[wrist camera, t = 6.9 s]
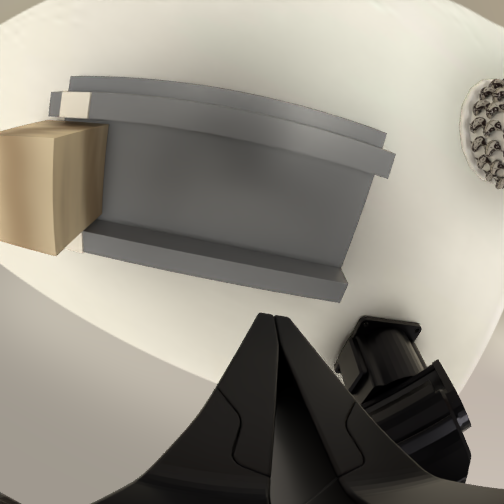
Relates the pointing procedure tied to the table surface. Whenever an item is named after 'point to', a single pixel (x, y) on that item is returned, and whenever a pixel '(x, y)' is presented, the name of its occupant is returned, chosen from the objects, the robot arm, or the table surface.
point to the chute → (225, 183)
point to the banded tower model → (484, 130)
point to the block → (50, 182)
